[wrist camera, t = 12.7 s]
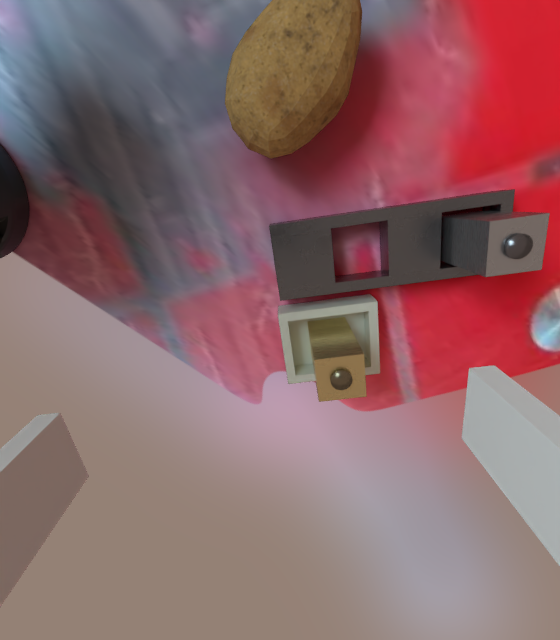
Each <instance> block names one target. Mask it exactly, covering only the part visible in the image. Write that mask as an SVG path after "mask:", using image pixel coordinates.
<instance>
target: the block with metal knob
mask: <svg viewBox="0 0 560 640" xmlns="http://www.w3.org/2000/svg"><path fill="white" fill-rule="evenodd" d="M307 324H308V332H309V340H310V349H311V356H312V362H313V368H314V374H315V380H316V386H317V392H318V398H319V401H320V402H321V401H330V400H339V399H348V398H357V397H366V379H365V361H364V353H363V351H362V349H361V347H360V345H359V343H358V341H357V339H356V338H355V336H354V334H353V332H352V330H351V328H350V326H349V324H348V322H347V320H346V318H345V317H340V318H332V319H324V320H316V321H308V322H307Z"/></svg>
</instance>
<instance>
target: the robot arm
mask: <svg viewBox="0 0 560 640" xmlns="http://www.w3.org/2000/svg"><path fill="white" fill-rule="evenodd" d="M28 219H29V204H28V197H27V193H26V189H25V186H24V183H23V180H22V178H21V176H20V173H19V171H18V169H17V168H16V166H15V164H14V163H13V161H12V159H11V158H10V157H9V155H8V154H7V152H6V151H5V150H4V149H3V148H2V146H1V145H0V258H2V257H4V256H5V255H8V254H9V253H11V252H12V251H13V250H14V249H15V248H16V247H17V246H18V245H19V243H20V242H21V240H22V239H23V237H24V234H25V232H26V229H27V225H28ZM462 439H463V441H464V442H465V443H466V445H467V446H468V447H469V449H470V450H471V451H472V453H473V454H474V455H475V456H476V458H477V459H478V460H479V462H480V463H481V464H482V465H483V467H484V468H485V470H486V471H487V472H488V473H489V475H490V476H491V477H492V479H493V480H494V481H495V483H496V484H497V485H498V487H499V488H500V489H501V490H502V492H503V493H504V494H505V496H506V497H507V498H508V499H509V501H510V502H511V503H512V505H513V506H514V507H515V509H516V510H517V511H518V513H519V514H520V515H521V516H522V518H523V519H524V520H525V522H526V523H527V524H528V526H529V527H530V528H531V529H532V531H533V532H534V533H535V535H536V536H537V537H538V539H539V540H540V541H541V543H542V544H543V545H544V547H545V548H546V549H547V550H548V552H549V553H550V554H551V556H552V557H553V558H554V560H555V561H556V562H557V564H558V565H559V566H560V416H559V415H558V414H556V413H555V412H554V411H553V410H551V409H550V408H549V407H547V406H546V405H545V404H544V403H542V402H541V401H539V400H538V399H537V398H536V397H534V396H533V395H532V394H531V393H529V392H528V391H527V390H525V389H524V388H523V387H522V386H520V385H519V384H518V383H516V382H515V381H514V380H512V379H511V378H510V377H509V376H507V375H506V374H505V373H503V372H502V371H501V370H500V369H498V368H497V367H496V366H484V367H475V368H469V374H468V384H467V394H466V403H465V412H464V421H463V431H462ZM88 477H89V475H88V473H87V471H86V468H85V466H84V464H83V462H82V460H81V457H80V455H79V453H78V451H77V449H76V446H75V444H74V442H73V440H72V438H71V435H70V433H69V431H68V429H67V426H66V424H65V422H64V420H63V418H62V415H61V413H53V414H44V415H37V417H35V418H34V419H33V420H32V421H31V422H30V423H28V424H27V425H26V426H25V427H24V428H23V429H22V430H21V431H20V432H19V433H18V434H16V435H15V436H14V437H13V438H12V439H11V440H10V441H9V442H8V443H6V444H5V445H4V446H3V447H2V448H1V449H0V607H1V605H2V604H3V602H4V600H5V599H6V598H7V596H8V595H9V593H10V592H11V590H12V589H13V587H14V586H15V585H16V583H17V582H18V580H19V579H20V577H21V576H22V574H23V573H24V571H25V570H26V568H27V567H28V565H29V564H30V562H31V561H32V559H33V558H34V556H35V555H36V554H37V552H38V550H39V549H40V548H41V546H42V545H43V543H44V542H45V540H46V539H47V537H48V536H49V534H50V533H51V531H52V530H53V528H54V527H55V525H56V524H57V522H58V521H59V520H60V518H61V517H62V515H63V514H64V512H65V511H66V509H67V508H68V506H69V505H70V503H71V502H72V500H73V499H74V497H75V496H76V494H77V493H78V491H79V490H80V489H81V487H82V486H83V484H84V483H85V481H86V480H87V478H88Z"/></svg>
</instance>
